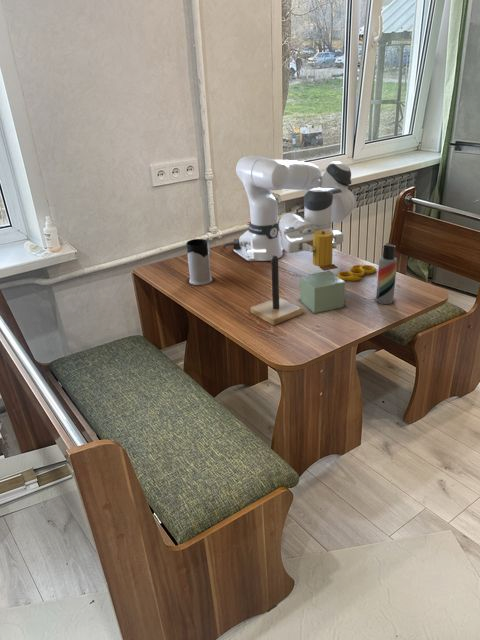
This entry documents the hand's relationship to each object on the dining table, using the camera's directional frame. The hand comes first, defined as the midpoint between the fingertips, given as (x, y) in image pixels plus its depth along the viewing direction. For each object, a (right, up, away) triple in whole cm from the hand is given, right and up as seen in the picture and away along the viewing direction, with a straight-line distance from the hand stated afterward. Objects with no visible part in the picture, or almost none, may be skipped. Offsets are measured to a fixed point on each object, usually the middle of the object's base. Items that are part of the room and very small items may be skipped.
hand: (323, 247), depth 169 cm
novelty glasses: (+16, -4, +31) cm, 35 cm away
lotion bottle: (+22, -16, +11) cm, 29 cm away
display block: (0, -17, +11) cm, 20 cm away
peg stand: (-15, -20, +6) cm, 26 cm away
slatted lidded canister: (0, -5, +2) cm, 6 cm away
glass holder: (-42, -5, +34) cm, 55 cm away
